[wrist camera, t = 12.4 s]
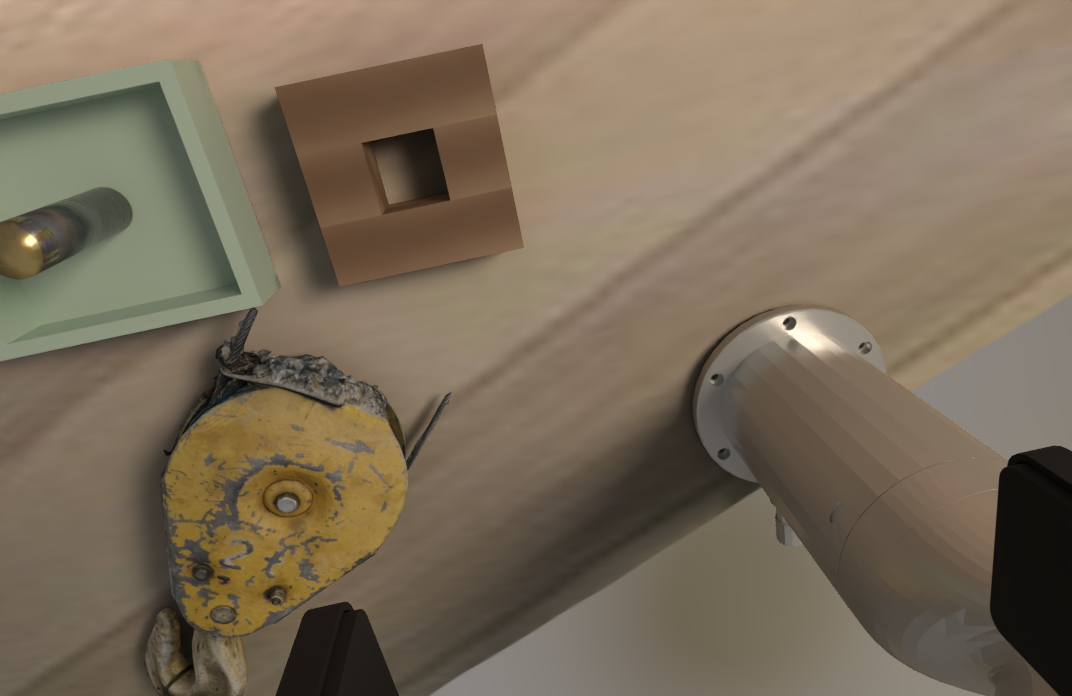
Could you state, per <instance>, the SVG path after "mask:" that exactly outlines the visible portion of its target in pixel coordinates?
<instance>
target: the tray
mask: <svg viewBox="0 0 1072 696" xmlns="http://www.w3.org/2000/svg"><path fill="white" fill-rule="evenodd" d="M97 187H108V188H112V189H114V190H116V191H118V192H120V193H121V194H122V195H123V196H124V197H125V198H126V199H127V200H128V202H129V203H130V205H131V208H132V212H133V218H132V221H131V224H130V225H129V226H128V227H127V228H126V229H125V230H123V231H121V232H119V233H117V234H115V235H113V236H111V237H109V238H107V239H105V240H103V241H101V242H99V243H97V244H96V245H94V246H92V247H90V248H88V249H86V250H84V251H82V252H80V253H78V254H76V255H74V256H72V257H70V258H68V259H66V260H64V261H62V262H60V263H58V264H56V265H54V266H52V267H50V268H49V269H47V270H45V271H43V272H41V273H39V274H37V275H35V276H33V277H31V278H28V279H23V280H16V279H10V278H7V277H4V276H2V275H0V361H4V360H9V359H14V358H18V357H23V356H28V355H32V354H37V353H42V352H47V351H51V350H56V349H61V348H65V347H70V346H75V345H79V344H84V343H89V342H94V341H98V340H103V339H108V338H112V337H117V336H122V335H126V334H131V333H136V332H141V331H145V330H150V329H155V328H159V327H164V326H169V325H173V324H178V323H183V322H188V321H192V320H197V319H202V318H206V317H211V316H216V315H220V314H225V313H230V312H235V311H239V310H244V309H249V308H253V307H258V306H263V305H264V304H265V302H266V301H267V300H268V299H269V298H270V297H271V296H272V295H273V294H274V293H275V292H276V291H277V290H278V289H279V288H280V287H281V286H280V283H279V280H278V277H277V275H276V272H275V269H274V266H273V264H272V261H271V258H270V255H269V253H268V250H267V247H266V244H265V241H264V239H263V236H262V233H261V230H260V228H259V225H258V222H257V219H256V217H255V214H254V211H253V208H252V206H251V203H250V200H249V197H248V194H247V192H246V189H245V186H244V183H243V181H242V178H241V175H240V172H239V170H238V167H237V164H236V161H235V159H234V156H233V153H232V150H231V147H230V145H229V142H228V139H227V136H226V134H225V131H224V128H223V125H222V123H221V120H220V117H219V114H218V112H217V109H216V106H215V103H214V101H213V98H212V95H211V92H210V89H209V87H208V84H207V81H206V78H205V76H204V73H203V70H202V67H201V65H200V62H199V61H189V60H177V59H167V60H162V61H157V62H152V63H147V64H143V65H138V66H133V67H128V68H123V69H118V70H114V71H109V72H104V73H99V74H94V75H90V76H85V77H80V78H75V79H70V80H66V81H61V82H56V83H51V84H46V85H42V86H37V87H32V88H27V89H22V90H18V91H13V92H8V93H3V94H0V222H2V221H5V220H7V219H10V218H13V217H16V216H19V215H21V214H24V213H27V212H30V211H33V210H35V209H38V208H41V207H44V206H46V205H49V204H52V203H55V202H58V201H60V200H63V199H66V198H69V197H71V196H74V195H77V194H80V193H83V192H85V191H88V190H91V189H94V188H97Z"/></svg>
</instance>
